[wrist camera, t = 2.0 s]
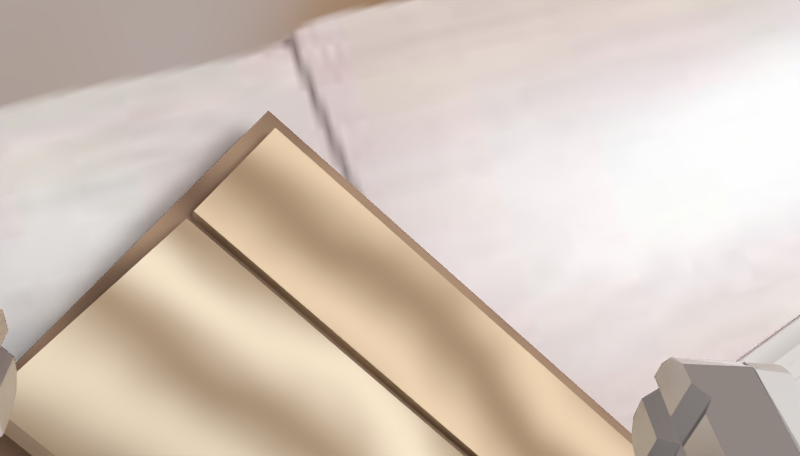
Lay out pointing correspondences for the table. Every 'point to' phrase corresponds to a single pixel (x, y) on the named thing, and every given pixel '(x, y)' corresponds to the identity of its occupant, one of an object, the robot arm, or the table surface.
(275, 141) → the wooden box
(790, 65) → the table surface
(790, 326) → the baseboard
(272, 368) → the ash plank
